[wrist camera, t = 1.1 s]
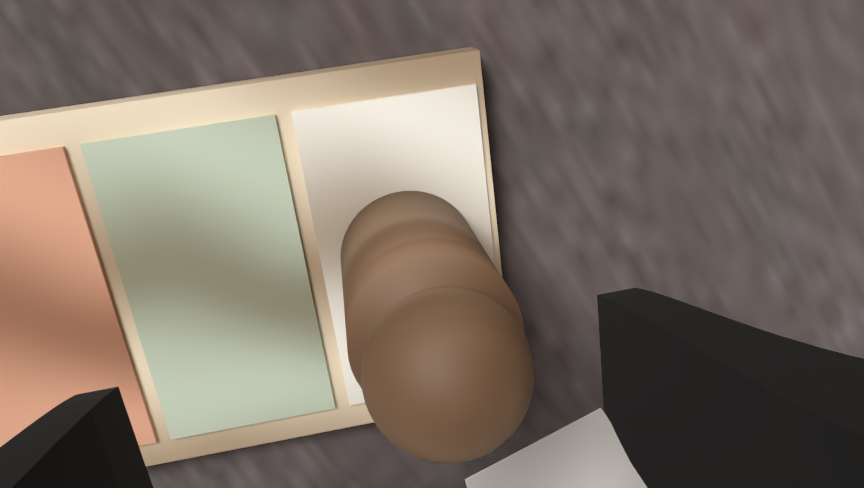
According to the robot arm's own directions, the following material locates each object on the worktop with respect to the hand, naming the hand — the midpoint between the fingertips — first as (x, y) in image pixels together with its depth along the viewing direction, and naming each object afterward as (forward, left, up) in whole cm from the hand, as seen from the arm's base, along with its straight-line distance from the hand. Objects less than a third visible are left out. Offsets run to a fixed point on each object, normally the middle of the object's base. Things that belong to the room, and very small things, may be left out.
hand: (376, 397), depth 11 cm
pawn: (-1, -1, -8) cm, 8 cm away
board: (-1, +4, -10) cm, 10 cm away
